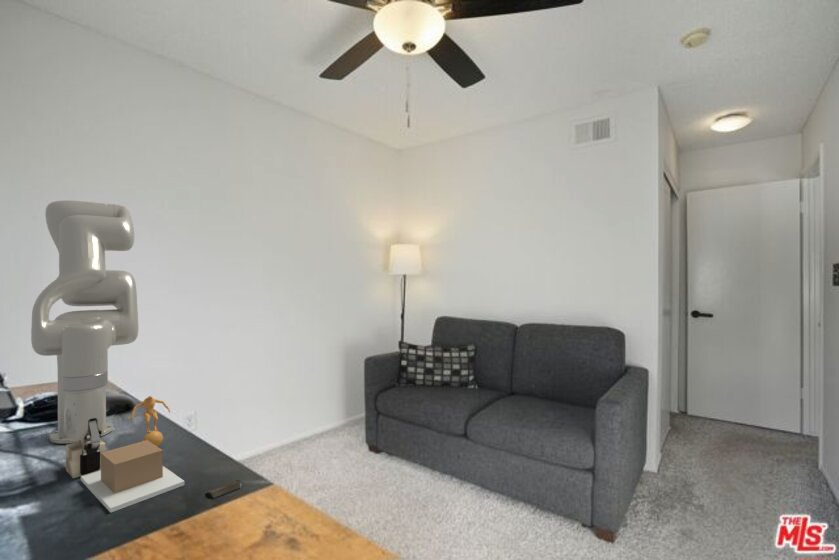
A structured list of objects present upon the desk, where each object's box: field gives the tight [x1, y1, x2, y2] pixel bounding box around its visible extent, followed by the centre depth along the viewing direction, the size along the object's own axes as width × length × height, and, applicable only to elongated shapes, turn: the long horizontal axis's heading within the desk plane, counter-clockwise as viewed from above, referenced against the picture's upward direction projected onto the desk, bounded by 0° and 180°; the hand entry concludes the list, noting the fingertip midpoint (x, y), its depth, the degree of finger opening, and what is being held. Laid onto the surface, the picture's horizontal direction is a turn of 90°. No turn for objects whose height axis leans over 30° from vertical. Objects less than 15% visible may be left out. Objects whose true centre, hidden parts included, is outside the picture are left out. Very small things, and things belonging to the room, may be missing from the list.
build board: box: [80, 440, 185, 514], centre depth 82 cm, size 18×12×6 cm, turn 52°
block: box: [205, 479, 242, 500], centre depth 79 cm, size 4×6×2 cm, turn 144°
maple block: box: [65, 438, 107, 479], centre depth 87 cm, size 5×5×5 cm
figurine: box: [129, 395, 171, 447], centre depth 99 cm, size 8×6×12 cm
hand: (85, 466), depth 87 cm, fingers closed on maple block, 5 cm apart
